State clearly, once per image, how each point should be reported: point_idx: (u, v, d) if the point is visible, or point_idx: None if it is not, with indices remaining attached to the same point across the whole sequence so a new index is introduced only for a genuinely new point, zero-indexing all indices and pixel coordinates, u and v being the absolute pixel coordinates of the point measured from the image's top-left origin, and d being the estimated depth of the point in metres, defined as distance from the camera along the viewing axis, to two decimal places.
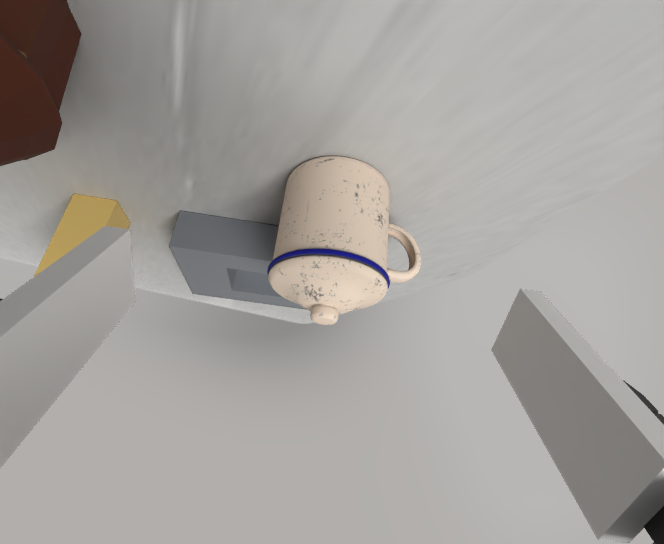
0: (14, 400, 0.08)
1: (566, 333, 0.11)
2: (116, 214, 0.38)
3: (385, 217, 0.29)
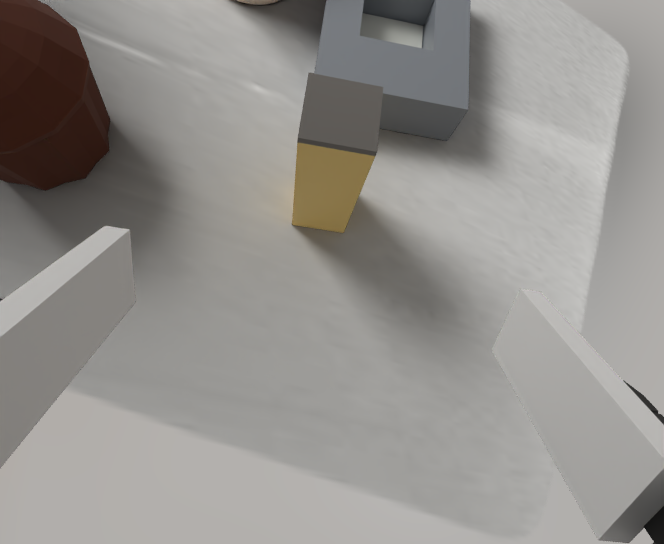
0: (14, 400, 0.08)
1: (566, 333, 0.11)
2: None
3: None
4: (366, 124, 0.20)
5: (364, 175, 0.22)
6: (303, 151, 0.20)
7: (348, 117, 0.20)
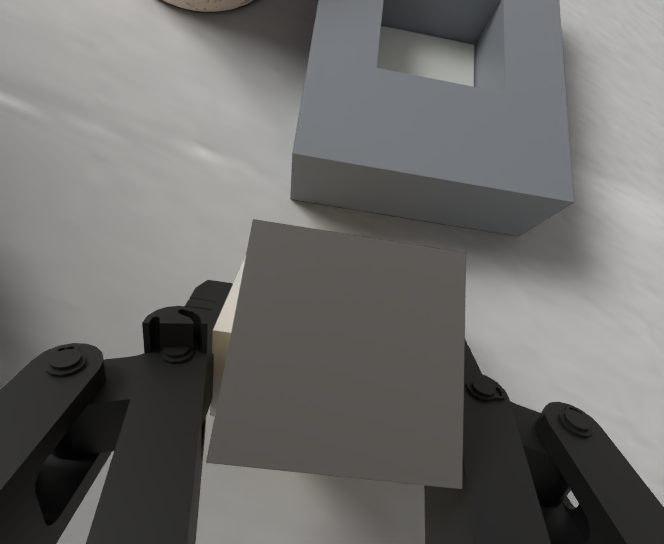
0: None
1: None
2: None
3: None
4: (424, 387, 0.06)
5: None
6: None
7: (369, 364, 0.06)
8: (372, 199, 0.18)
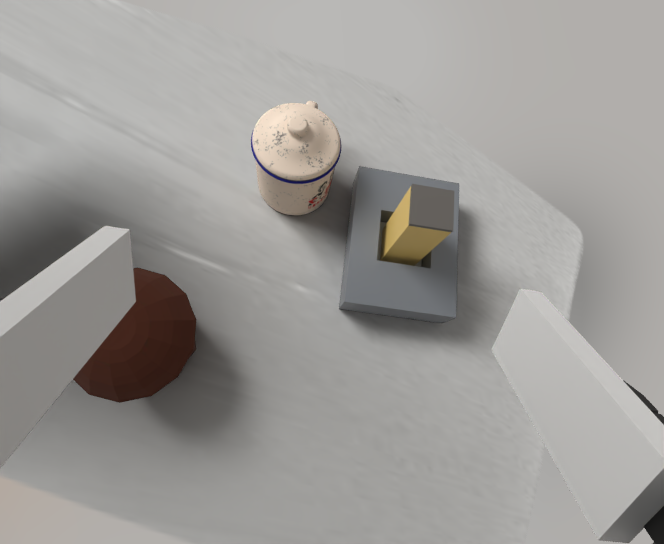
0: (14, 400, 0.08)
1: (566, 333, 0.11)
2: None
3: None
4: (446, 214, 0.35)
5: (441, 239, 0.37)
6: (409, 229, 0.35)
7: (436, 210, 0.35)
8: (374, 311, 0.42)
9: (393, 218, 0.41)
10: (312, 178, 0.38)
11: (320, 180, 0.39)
